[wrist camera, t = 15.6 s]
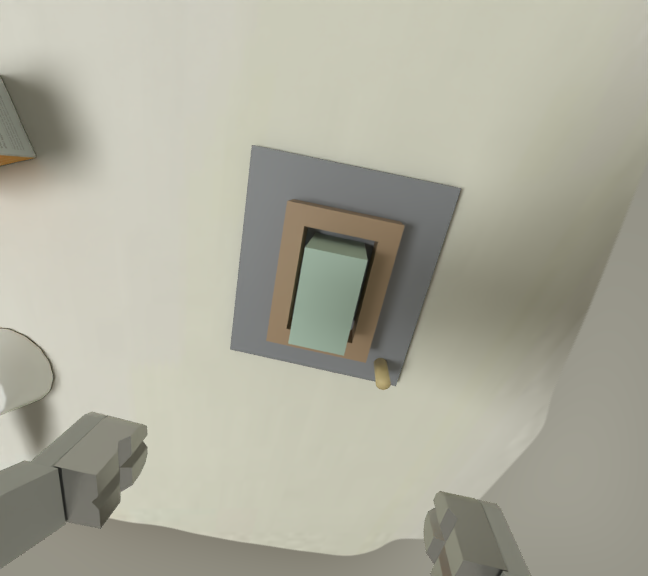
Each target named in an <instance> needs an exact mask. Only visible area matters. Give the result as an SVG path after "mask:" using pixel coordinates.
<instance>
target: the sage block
mask: <svg viewBox="0 0 648 576" xmlns="http://www.w3.org/2000/svg"><path fill="white" fill-rule="evenodd" d="M367 261H368V259H367V254H366V249H365V243H363V242H359V241H354V240H349V239H344V238H340V237H335V236H330V235H325V234H321V233H315V234H314V236H313V237H312V238H311V240H310V241H309V243H308V244H307V245H306V247H305V250H304V256H303V262H302V267H301V273H300V279H299V284H298V290H297V296H296V302H295V307H294V313H293V319H292V324H291V330H290V336H289V341H288V344H292V345H297V346H301V347H306V348H310V349H315V350H320V351H324V352H329V353H333V354H338V355H343V356H344V353H345V349H346V345H347V341H348V337H349V333H350V329H351V325H352V321H353V317H354V313H355V309H356V305H357V301H358V297H359V293H360V289H361V285H362V281H363V277H364V273H365V269H366V265H367Z"/></svg>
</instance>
